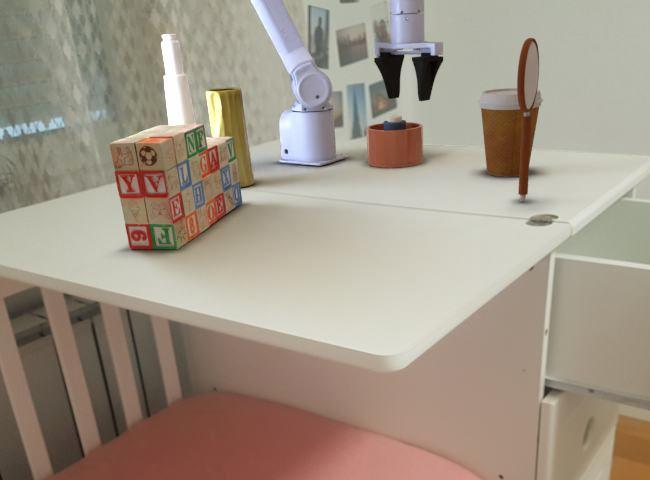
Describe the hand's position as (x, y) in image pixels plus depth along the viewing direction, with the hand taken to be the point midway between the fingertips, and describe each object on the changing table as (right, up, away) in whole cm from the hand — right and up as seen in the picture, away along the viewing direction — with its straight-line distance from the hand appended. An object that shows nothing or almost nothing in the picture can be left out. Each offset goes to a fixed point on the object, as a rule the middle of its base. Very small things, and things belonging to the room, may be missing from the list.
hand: (408, 99), depth 125 cm
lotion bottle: (-2, -11, -3) cm, 12 cm away
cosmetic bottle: (-37, -15, -6) cm, 40 cm away
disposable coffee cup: (+15, -16, -14) cm, 26 cm away
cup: (-2, -12, -2) cm, 12 cm away
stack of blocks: (-30, -28, -33) cm, 53 cm away
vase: (-28, -18, -12) cm, 36 cm away
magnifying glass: (+13, -24, -30) cm, 41 cm away
